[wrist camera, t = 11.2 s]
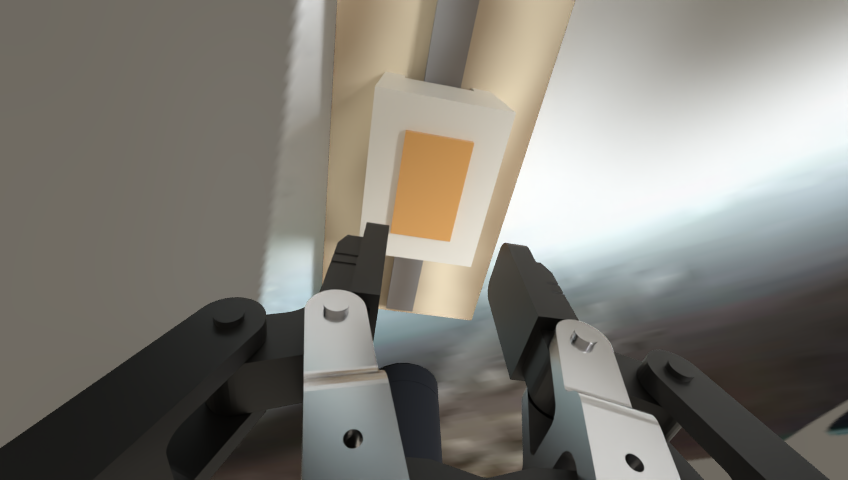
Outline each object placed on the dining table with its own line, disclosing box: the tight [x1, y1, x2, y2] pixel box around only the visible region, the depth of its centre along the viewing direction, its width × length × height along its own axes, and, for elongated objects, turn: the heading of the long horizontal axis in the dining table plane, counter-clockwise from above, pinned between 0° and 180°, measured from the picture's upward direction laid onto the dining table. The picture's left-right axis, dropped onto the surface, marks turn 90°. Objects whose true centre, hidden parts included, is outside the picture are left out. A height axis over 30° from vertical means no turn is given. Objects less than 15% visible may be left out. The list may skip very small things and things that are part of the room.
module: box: [359, 72, 516, 267], centre depth 20 cm, size 6×8×6 cm
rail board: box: [322, 0, 575, 320], centre depth 22 cm, size 12×26×2 cm, turn 170°
